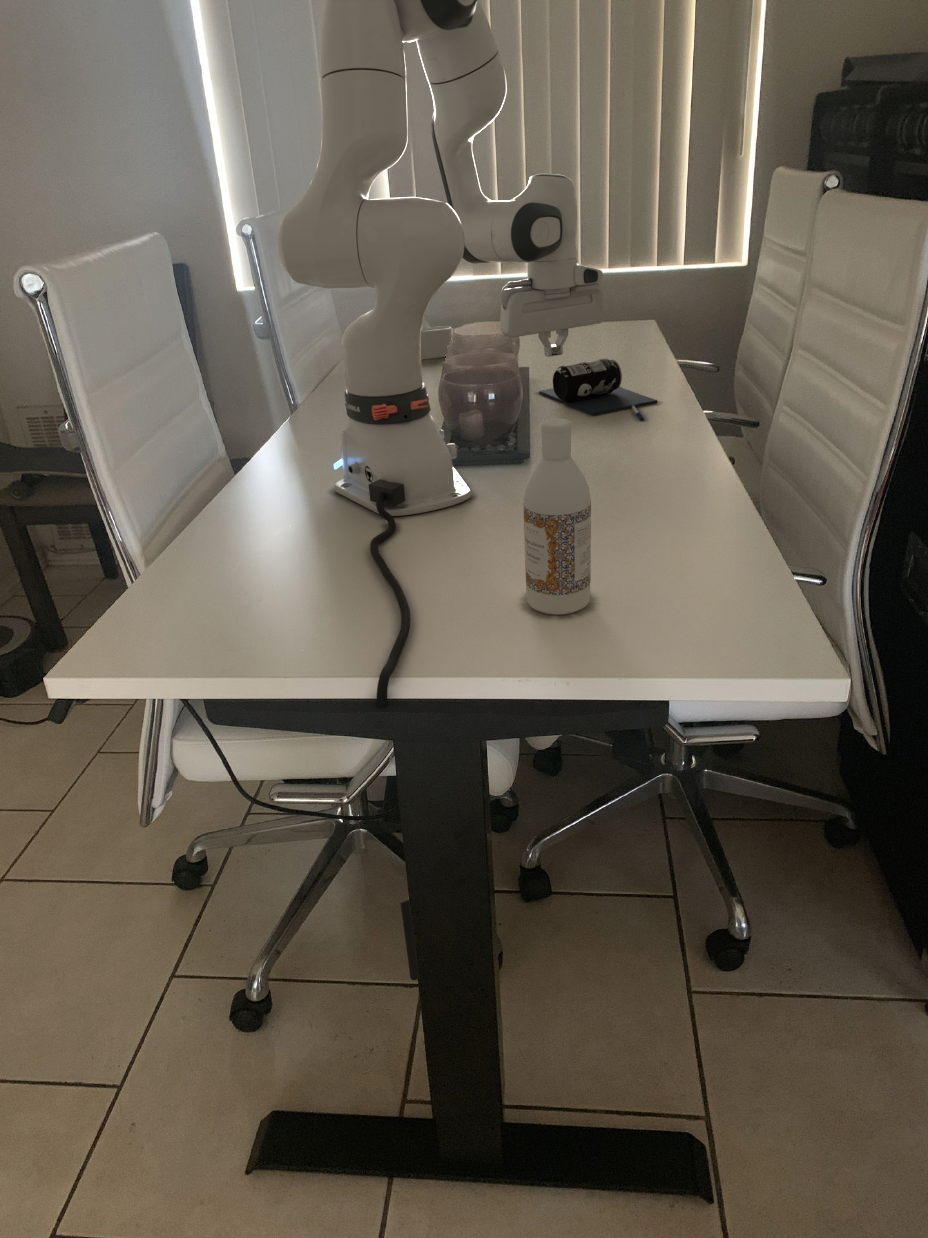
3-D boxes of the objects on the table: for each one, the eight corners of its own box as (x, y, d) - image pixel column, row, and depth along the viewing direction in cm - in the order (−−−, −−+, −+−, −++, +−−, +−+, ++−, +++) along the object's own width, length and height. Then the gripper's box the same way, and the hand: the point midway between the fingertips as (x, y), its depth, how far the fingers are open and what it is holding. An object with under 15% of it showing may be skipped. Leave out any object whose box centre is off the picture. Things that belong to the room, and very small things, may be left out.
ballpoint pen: (645, 421, 155) (645, 416, 155) (640, 422, 155) (640, 416, 155) (632, 406, 165) (632, 401, 164) (627, 406, 165) (627, 401, 164)
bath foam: (513, 600, 98) (506, 422, 88) (562, 581, 101) (560, 408, 92) (554, 623, 93) (551, 436, 83) (603, 603, 96) (606, 421, 86)
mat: (657, 402, 165) (657, 400, 164) (592, 415, 160) (592, 412, 160) (599, 382, 181) (599, 379, 181) (539, 393, 176) (539, 390, 176)
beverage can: (557, 407, 169) (609, 396, 173) (572, 395, 163) (627, 384, 167) (547, 373, 169) (600, 364, 173) (563, 361, 163) (617, 351, 167)
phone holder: (456, 355, 212) (451, 275, 203) (415, 360, 210) (408, 280, 201) (439, 342, 227) (433, 267, 218) (400, 347, 225) (393, 271, 216)
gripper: (508, 284, 150) (511, 367, 157) (610, 270, 157) (609, 349, 164) (492, 280, 155) (495, 360, 162) (591, 267, 162) (591, 344, 169)
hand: (553, 355), depth 163 cm, fingers closed
